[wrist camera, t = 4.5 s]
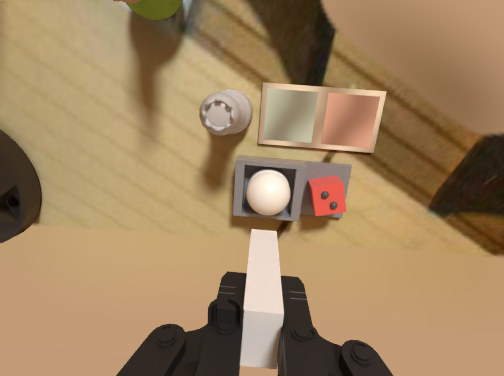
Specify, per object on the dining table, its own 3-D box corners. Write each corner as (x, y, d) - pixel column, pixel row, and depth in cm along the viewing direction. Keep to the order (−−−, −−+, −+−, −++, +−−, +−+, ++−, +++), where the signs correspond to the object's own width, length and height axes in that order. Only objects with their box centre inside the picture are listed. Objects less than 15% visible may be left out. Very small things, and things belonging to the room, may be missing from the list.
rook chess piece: (247, 138, 29) (239, 151, 21) (206, 127, 29) (183, 136, 21) (258, 95, 27) (253, 92, 20) (215, 83, 27) (194, 76, 20)
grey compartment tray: (235, 206, 31) (231, 220, 27) (238, 155, 29) (234, 162, 26) (340, 216, 31) (350, 231, 27) (350, 164, 29) (362, 173, 25)
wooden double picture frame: (258, 143, 29) (258, 143, 28) (263, 82, 27) (262, 82, 26) (372, 152, 28) (373, 152, 28) (385, 91, 26) (386, 91, 26)
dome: (246, 204, 30) (243, 220, 26) (249, 165, 29) (246, 176, 24) (286, 207, 30) (289, 224, 26) (291, 168, 28) (294, 180, 24)
